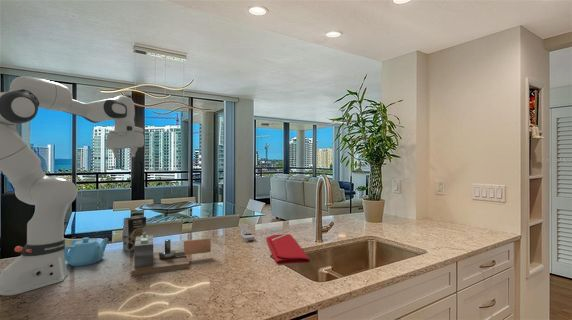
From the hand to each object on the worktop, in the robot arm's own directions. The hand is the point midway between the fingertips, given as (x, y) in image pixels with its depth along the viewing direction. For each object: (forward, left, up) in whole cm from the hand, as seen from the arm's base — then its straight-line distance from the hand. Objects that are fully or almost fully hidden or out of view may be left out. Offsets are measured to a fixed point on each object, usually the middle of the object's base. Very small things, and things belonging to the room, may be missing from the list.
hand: (124, 157), depth 146 cm
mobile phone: (+51, -41, -48) cm, 81 cm away
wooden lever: (+4, -33, -45) cm, 56 cm away
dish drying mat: (+35, -72, -48) cm, 93 cm away
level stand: (-4, -27, -47) cm, 54 cm away
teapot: (-14, +6, -48) cm, 50 cm away
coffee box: (+9, +2, -48) cm, 48 cm away
